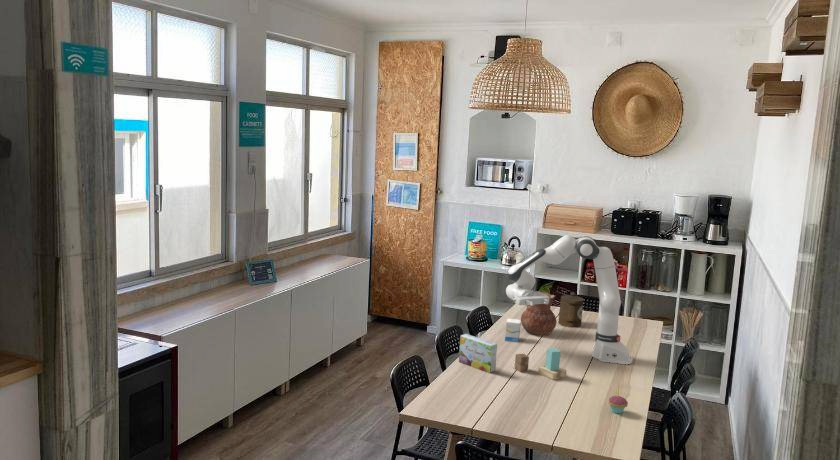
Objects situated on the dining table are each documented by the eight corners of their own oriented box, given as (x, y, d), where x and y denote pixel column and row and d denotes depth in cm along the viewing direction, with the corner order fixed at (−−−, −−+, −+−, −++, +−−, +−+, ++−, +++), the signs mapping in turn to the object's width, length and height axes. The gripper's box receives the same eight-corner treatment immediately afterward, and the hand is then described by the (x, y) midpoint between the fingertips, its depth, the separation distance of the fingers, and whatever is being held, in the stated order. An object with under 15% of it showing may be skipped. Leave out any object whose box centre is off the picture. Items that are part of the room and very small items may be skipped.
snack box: (457, 362, 357) (459, 335, 355) (464, 360, 362) (466, 333, 359) (489, 373, 343) (491, 345, 341) (496, 371, 347) (498, 343, 345)
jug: (560, 332, 423) (563, 294, 419) (547, 340, 405) (551, 300, 402) (528, 325, 435) (531, 288, 431) (514, 332, 417) (517, 293, 413)
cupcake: (604, 407, 308) (607, 382, 306) (622, 407, 309) (625, 383, 307) (611, 415, 299) (614, 390, 298) (629, 415, 300) (632, 390, 298)
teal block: (553, 366, 348) (555, 348, 347) (558, 370, 344) (560, 351, 342) (545, 367, 347) (547, 348, 345) (550, 370, 342) (552, 351, 341)
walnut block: (522, 367, 354) (523, 353, 353) (527, 371, 350) (529, 356, 349) (514, 368, 352) (515, 354, 351) (519, 372, 348) (521, 357, 347)
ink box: (518, 342, 398) (520, 323, 396) (504, 340, 400) (506, 321, 398) (519, 338, 406) (521, 319, 405) (505, 336, 408) (507, 318, 406)
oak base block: (551, 371, 353) (552, 364, 352) (565, 377, 345) (566, 370, 344) (538, 374, 347) (538, 367, 346) (552, 380, 339) (553, 373, 338)
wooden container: (583, 328, 435) (586, 295, 432) (560, 326, 435) (563, 294, 432) (578, 321, 450) (581, 290, 447) (556, 320, 450) (559, 288, 447)
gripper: (510, 292, 371) (525, 299, 359) (540, 290, 380) (555, 296, 368) (509, 303, 372) (524, 310, 360) (539, 301, 381) (554, 307, 369)
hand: (540, 303), depth 364 cm, fingers open, 8 cm apart
